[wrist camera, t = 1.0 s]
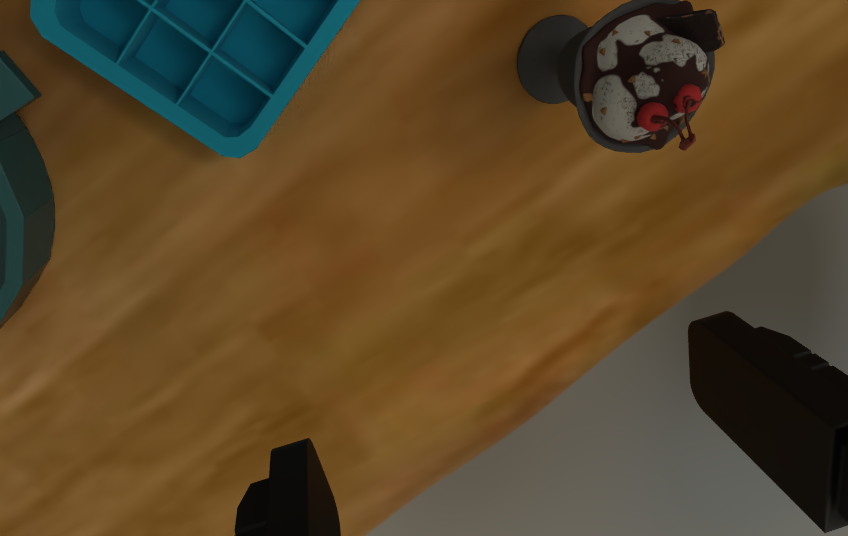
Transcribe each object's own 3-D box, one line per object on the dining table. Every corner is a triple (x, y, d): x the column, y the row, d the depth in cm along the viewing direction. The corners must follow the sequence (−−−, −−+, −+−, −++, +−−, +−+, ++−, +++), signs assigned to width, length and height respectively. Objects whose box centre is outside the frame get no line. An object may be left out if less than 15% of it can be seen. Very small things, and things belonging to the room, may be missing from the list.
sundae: (516, 133, 37) (641, 204, 23) (491, 19, 34) (618, 25, 21) (616, 100, 37) (796, 151, 24) (600, -16, 35) (794, -32, 21)
